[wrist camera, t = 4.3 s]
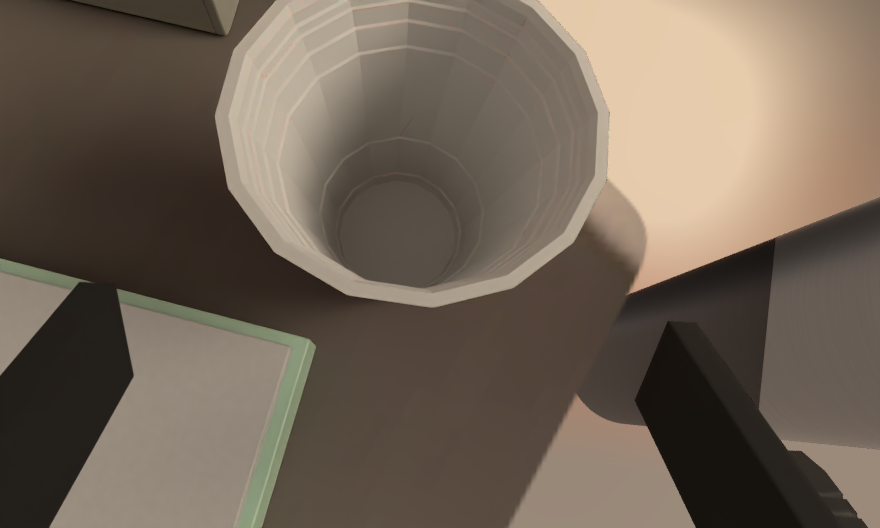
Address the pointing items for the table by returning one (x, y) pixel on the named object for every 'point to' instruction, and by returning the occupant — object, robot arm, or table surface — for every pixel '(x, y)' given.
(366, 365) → the table surface
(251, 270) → the table surface
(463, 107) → the plastic cup
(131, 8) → the digital clock
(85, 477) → the kitchen scale
